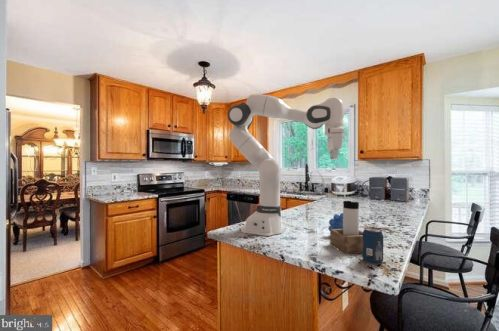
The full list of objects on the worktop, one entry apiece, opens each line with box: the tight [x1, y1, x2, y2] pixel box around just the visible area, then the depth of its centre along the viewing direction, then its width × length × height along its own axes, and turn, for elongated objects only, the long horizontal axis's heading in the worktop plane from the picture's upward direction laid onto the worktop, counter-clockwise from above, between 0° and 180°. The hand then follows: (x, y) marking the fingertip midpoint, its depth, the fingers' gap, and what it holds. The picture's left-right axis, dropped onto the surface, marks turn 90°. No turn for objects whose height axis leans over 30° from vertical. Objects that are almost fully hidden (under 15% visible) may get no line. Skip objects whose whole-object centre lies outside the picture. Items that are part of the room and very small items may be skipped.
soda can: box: [361, 227, 384, 265], centre depth 88 cm, size 7×7×12 cm
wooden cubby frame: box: [329, 229, 363, 254], centre depth 102 cm, size 12×11×7 cm
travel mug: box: [342, 200, 360, 236], centre depth 102 cm, size 6×7×20 cm
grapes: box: [327, 212, 343, 232], centre depth 120 cm, size 12×7×12 cm, turn 82°
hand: (333, 159), depth 116 cm, fingers open, 8 cm apart
